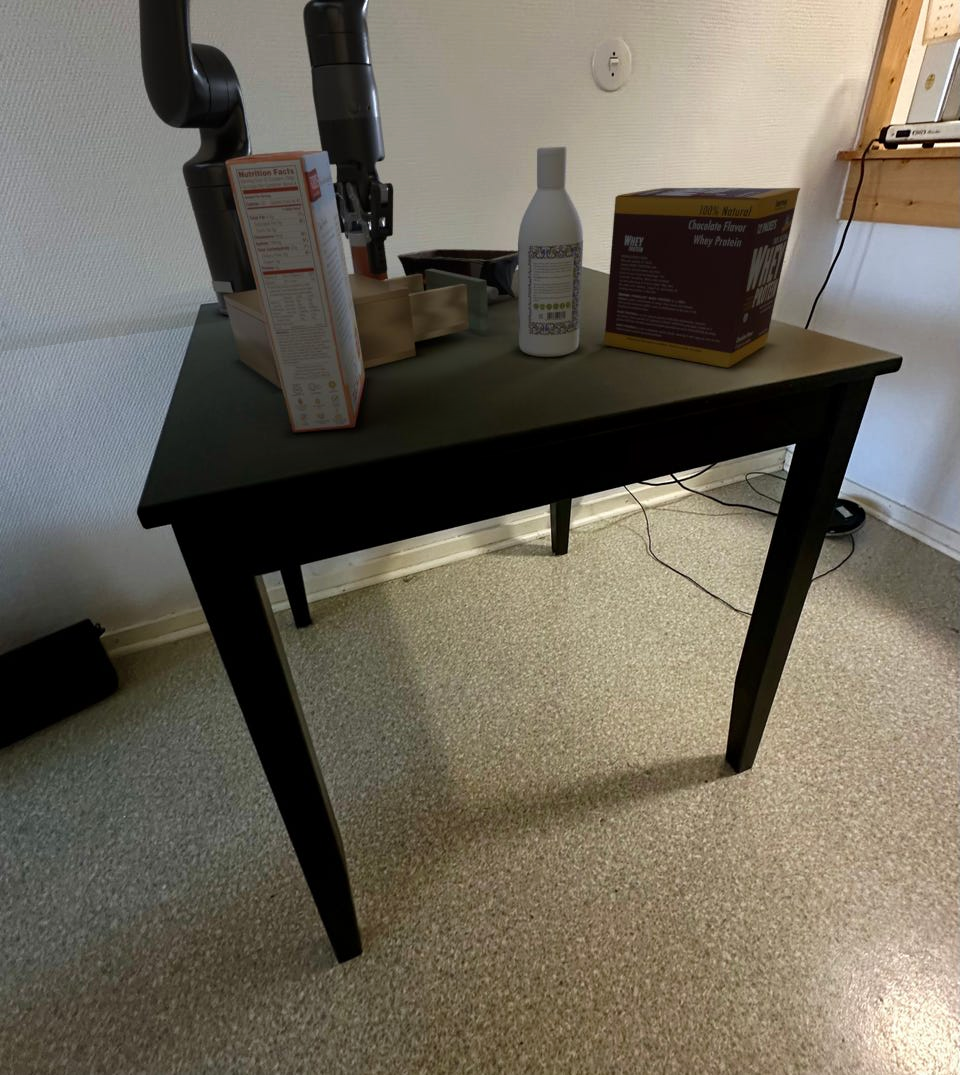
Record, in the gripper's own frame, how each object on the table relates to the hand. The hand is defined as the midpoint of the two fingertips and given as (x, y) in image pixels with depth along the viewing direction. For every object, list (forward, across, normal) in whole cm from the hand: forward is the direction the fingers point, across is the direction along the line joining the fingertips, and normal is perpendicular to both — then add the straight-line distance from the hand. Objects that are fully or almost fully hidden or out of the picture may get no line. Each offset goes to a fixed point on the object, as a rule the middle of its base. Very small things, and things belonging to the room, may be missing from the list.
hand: (370, 270), depth 81 cm
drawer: (+6, -10, -2) cm, 12 cm away
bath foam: (+7, -26, -9) cm, 28 cm away
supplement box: (+7, -36, -21) cm, 42 cm away
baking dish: (+7, +2, -16) cm, 18 cm away
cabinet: (+7, -10, +12) cm, 17 cm away
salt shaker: (+6, 0, 0) cm, 6 cm away
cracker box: (+7, -24, +18) cm, 31 cm away
